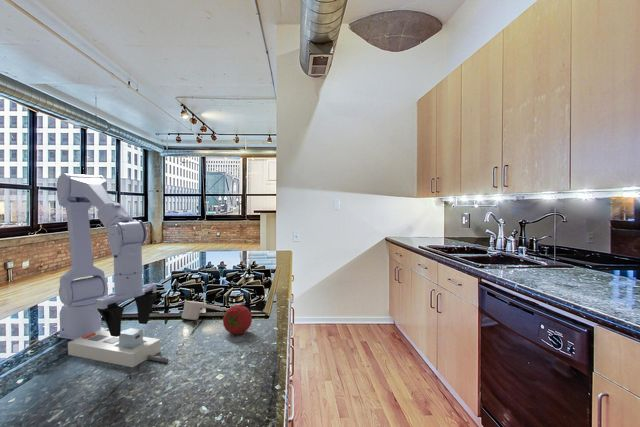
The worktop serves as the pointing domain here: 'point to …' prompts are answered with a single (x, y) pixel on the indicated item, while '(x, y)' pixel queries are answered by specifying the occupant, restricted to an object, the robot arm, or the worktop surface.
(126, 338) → the block
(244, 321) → the tomato
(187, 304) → the toilet paper hanger
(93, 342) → the power strip
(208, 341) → the worktop surface
